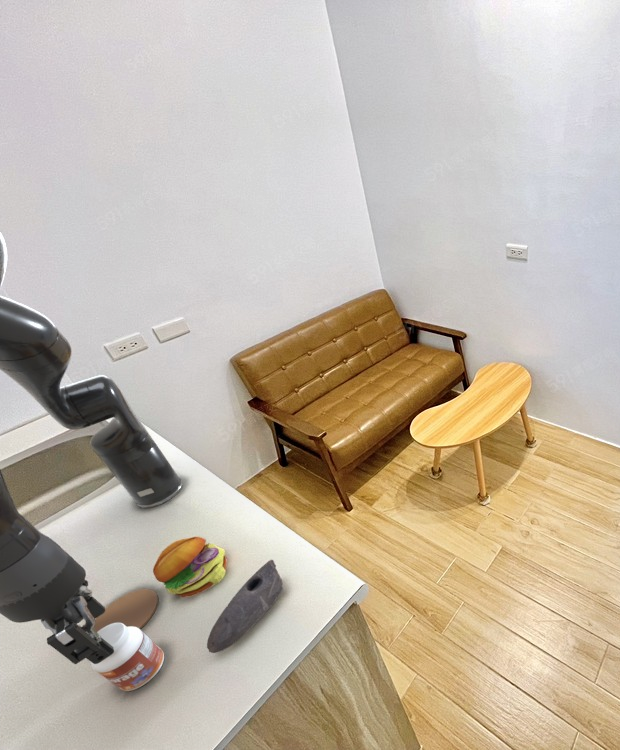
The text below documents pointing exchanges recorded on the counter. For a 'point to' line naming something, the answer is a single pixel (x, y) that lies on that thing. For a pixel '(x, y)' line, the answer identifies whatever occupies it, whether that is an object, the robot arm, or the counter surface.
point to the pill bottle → (129, 657)
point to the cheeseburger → (190, 566)
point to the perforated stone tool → (246, 607)
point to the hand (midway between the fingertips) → (101, 635)
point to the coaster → (129, 610)
